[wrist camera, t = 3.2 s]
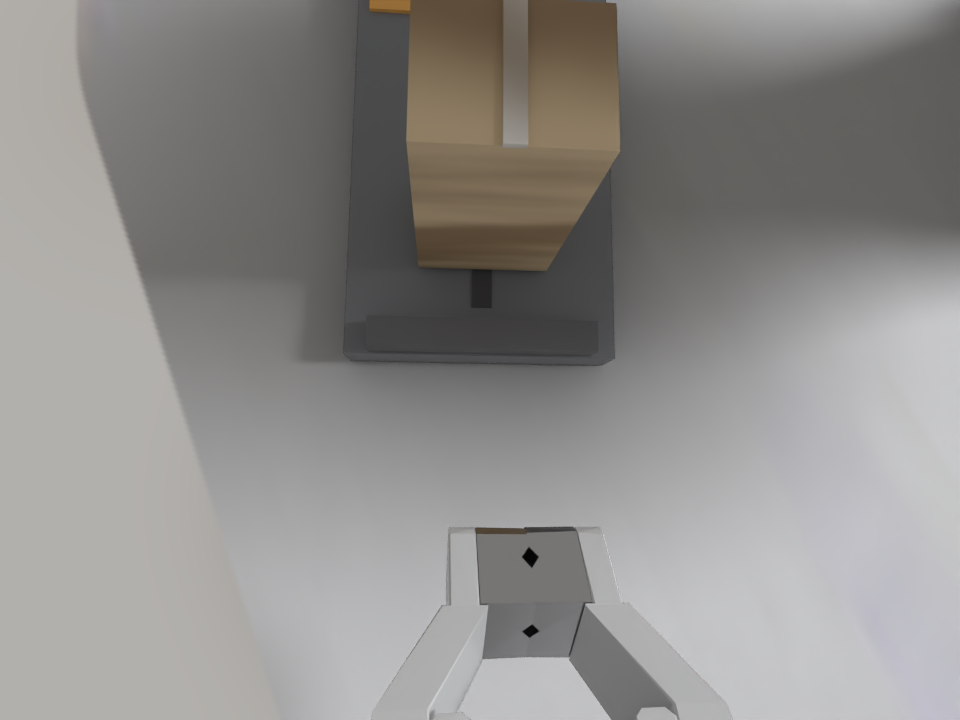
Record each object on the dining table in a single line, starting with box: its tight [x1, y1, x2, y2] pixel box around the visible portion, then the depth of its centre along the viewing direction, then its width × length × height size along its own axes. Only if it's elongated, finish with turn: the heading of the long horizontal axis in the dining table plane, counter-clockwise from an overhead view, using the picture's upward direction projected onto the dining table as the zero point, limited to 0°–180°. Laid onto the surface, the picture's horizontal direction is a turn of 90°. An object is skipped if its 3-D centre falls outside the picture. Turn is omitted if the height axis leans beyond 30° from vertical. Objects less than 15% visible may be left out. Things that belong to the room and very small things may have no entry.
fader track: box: [343, 0, 615, 365], centre depth 26 cm, size 25×11×3 cm, turn 179°
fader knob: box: [406, 0, 620, 271], centre depth 20 cm, size 4×5×10 cm
